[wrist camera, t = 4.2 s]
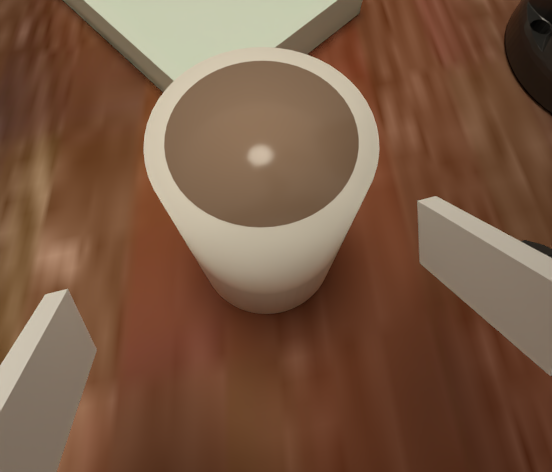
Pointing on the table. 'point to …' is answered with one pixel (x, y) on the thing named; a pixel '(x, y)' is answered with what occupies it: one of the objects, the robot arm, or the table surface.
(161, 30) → the tray
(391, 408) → the table surface
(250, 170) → the cup
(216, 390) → the table surface
